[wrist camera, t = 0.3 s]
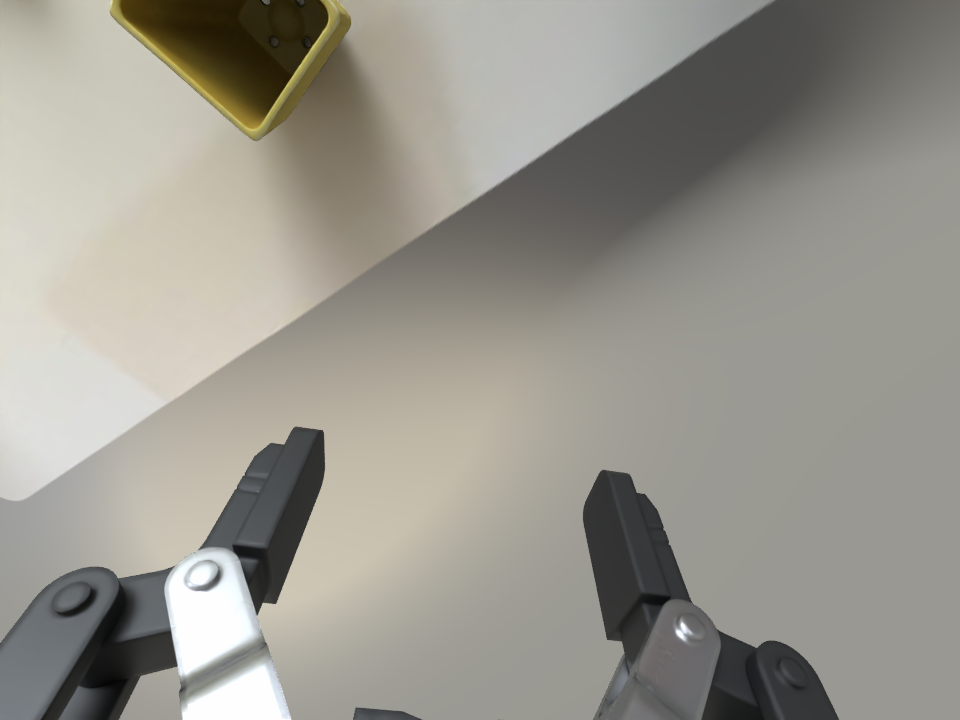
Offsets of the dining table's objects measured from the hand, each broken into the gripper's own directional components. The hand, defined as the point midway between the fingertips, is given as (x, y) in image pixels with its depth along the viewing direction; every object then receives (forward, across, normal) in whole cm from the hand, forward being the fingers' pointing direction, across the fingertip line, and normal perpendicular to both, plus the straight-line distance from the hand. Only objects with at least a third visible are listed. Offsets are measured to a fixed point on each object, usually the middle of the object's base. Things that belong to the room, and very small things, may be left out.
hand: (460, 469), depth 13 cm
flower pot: (+29, +15, -9) cm, 34 cm away
